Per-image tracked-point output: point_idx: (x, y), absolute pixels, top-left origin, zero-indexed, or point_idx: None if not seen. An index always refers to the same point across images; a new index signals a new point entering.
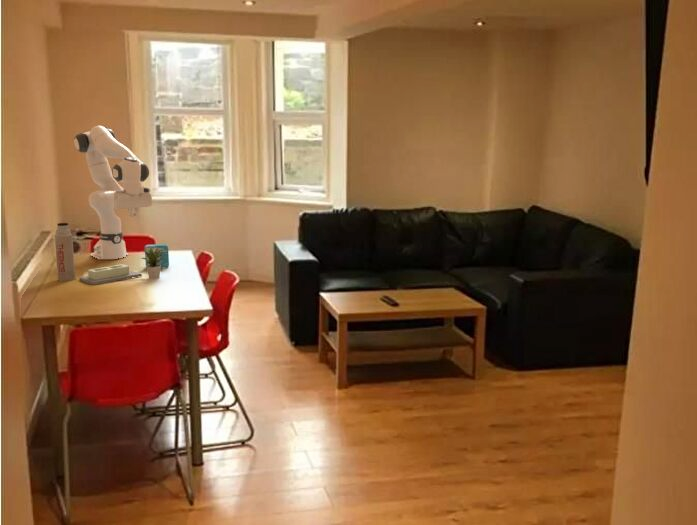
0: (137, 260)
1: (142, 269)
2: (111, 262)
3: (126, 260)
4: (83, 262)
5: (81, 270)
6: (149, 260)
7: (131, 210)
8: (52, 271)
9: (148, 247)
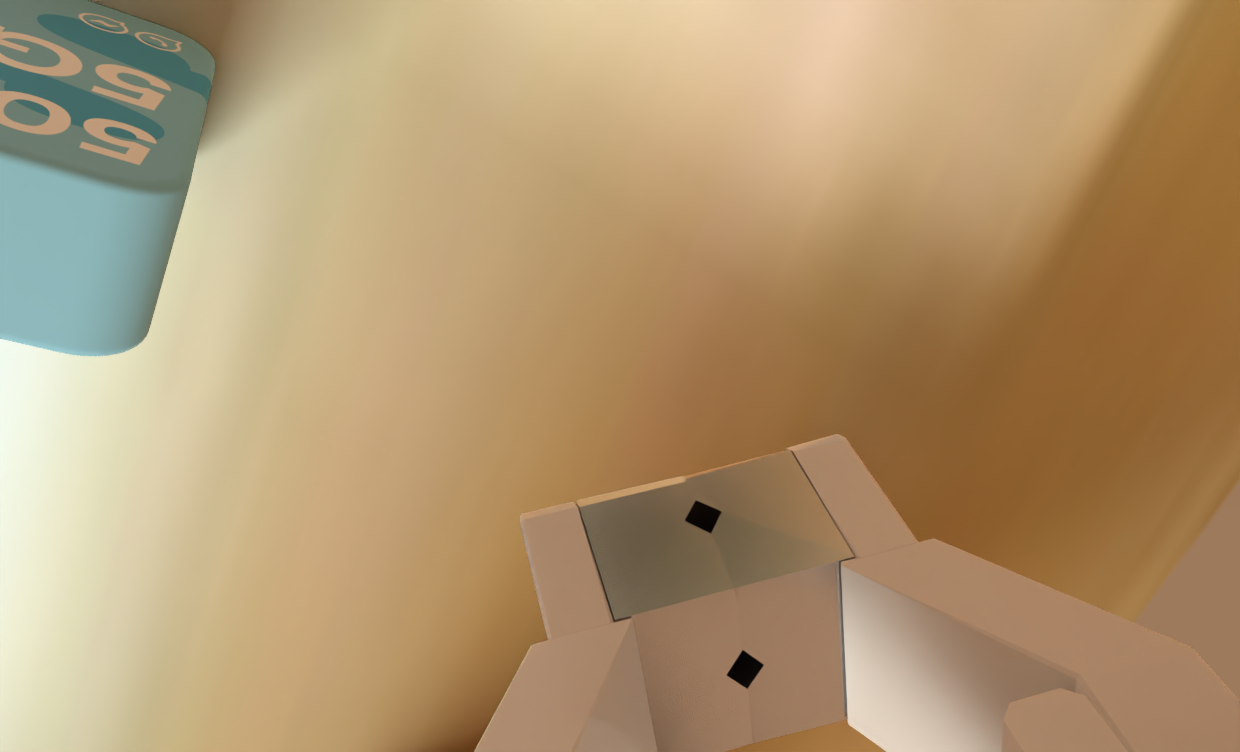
0: (191, 633)
1: (296, 3)
2: (534, 642)
3: (329, 680)
4: (785, 741)
5: (1001, 382)
6: (130, 61)
7: (1087, 669)
8: (1225, 471)
9: (97, 160)
